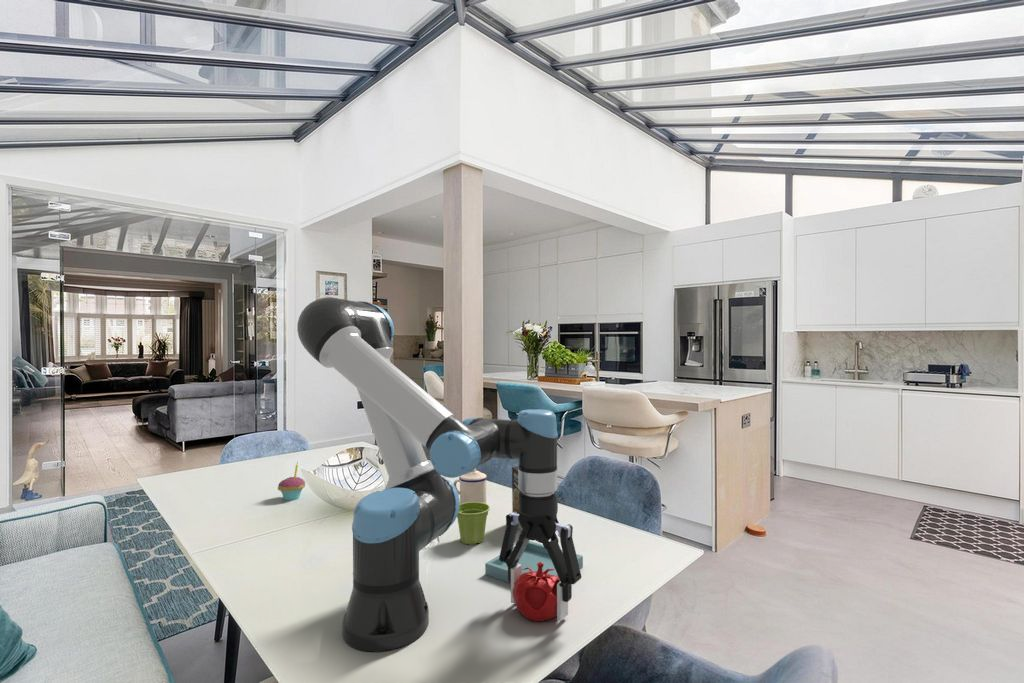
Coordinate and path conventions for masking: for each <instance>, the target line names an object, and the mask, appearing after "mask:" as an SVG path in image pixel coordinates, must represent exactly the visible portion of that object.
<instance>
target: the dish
mask: <svg viewBox="0 0 1024 683" xmlns="http://www.w3.org/2000/svg"><path fill="white" fill-rule="evenodd" d="M514 547H515V545H513V549H514ZM512 551H513V550H512ZM561 551H562V549H561ZM562 553H563V551H562ZM576 555H577V560H578V564H579V568H580V570H581V569H582V568H583V567H584V556H583V555H581V554H577V553H576ZM499 556H500V554H499V555H497V556H495V557H494V558H492V559H490V560H488V561H487V562H485V565H484V566H485V568H484V569H485V572H484V574H485V575H486V576H487V577H491V578H494V579H497V580H500V581H503V582H505V583H509V581H508V567H507V564H506V563H505V562H501V561H500V560H499ZM519 561H520V562H518V563H517V565H518V564H521V565H522V569H525V568H528V567H529V568H530V569H531V570H532V571H534V572H537V570H538V566H537V563H539V562H542V563H544V565H543V568H542V571H543V572H544V571H546V570H547V569H554V568H555V567H554V565H553V563H552V560H551V558H550V556H549V553H548V551H547V549H545V548H544V546H543V544H542V543H539V542H534V541H532V540H529V542H528V544H527V546H526V548H525V550H524V552H523V554H522V556H521V558H520V559H519ZM526 572H530V571H529V569H526V570H522V574H523V573H526ZM547 574H550V575H555V576H557V577H558V574H557V572H556V570H555V569H554V570H552V571H548V573H547ZM558 578H559V577H558ZM509 584H510V583H509Z"/></svg>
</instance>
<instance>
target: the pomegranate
mask: <svg viewBox="0 0 1024 683" xmlns="http://www.w3.org/2000/svg"><path fill="white" fill-rule="evenodd" d="M543 565H544V563H542V562H539V563H537V566H538V570H537V572H534V571H532V570H531V569H530V568H529V567H528V568H525V569H521V570H526V569H529V571H530V572H526V573H523V574H522V575H521V576H520V578H519V579H518V580H517V581H516V583H515V586H514V588H513V598H514V601H515V603H514V604H515V607H516V608H517V610H518V612H519V613H521V614H522V616H524V617H525V618H527V619H528V620H530V621H534V622H544V621H546V620H551V619H554V618H556V617H557V584H558V583H559V582H560V579H559V578H558V577H557V576H555V575H550V574H547V573H548V571H552V570H554V569H555V568H554V569H547V570H546V571H544V572H543V571H542V568H543Z"/></svg>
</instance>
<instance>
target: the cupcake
mask: <svg viewBox="0 0 1024 683" xmlns="http://www.w3.org/2000/svg"><path fill="white" fill-rule="evenodd" d="M298 463H299V461H297V462H296V464H295V470H294V475H293V476H289V477H287V478H285V479H283V480H281V481H280V482H279V483H278V485H277V491H280V493H281V494H282V497H283V500H284V501H295V500H298V499H300V498H301V494H302V491H303V489H304V488H305V487H306V481H305V480H304V478H302V477H299V476H297V474H298V467H299V464H298Z"/></svg>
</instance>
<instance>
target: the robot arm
mask: <svg viewBox="0 0 1024 683" xmlns="http://www.w3.org/2000/svg"><path fill="white" fill-rule="evenodd" d="M296 332H297V335H298V338H299V340H300V343H301V345H302V347H303V348H304V349H305V350H306V352H307V353H308V354H309V355H310V356H311V357H312V358H313V359H315V361H317V362H318V363H319V364H320V365H322V366H323V367H324V368H326V369H329V368H331V369H332V368H333V369H334V370H336V371H337V372H338V373H339V374H341V376H343V377H344V378H345V379H346V380H348V382H350V383H351V385H353V386H354V387H355V388H356V390H357V392H358V395H359V398H360V401H361V404H362V406H363V409H364V412H365V414H366V417H367V420H368V422H369V425H370V428H371V431H372V434H373V436H374V440H375V442H376V445H377V448H378V451H379V453H380V456H381V458H382V461H383V465H384V467H385V469H386V472H387V475H388V480H387V482H386V485H385V487H384V489H383V490H376V491H374V492H371V493H368V494H366V495H365V496H363V498H361V499H360V500H359V501H358V502H357V504H356V505H355V507H354V511H353V519H352V520H353V521H352V523H351V530H352V575H353V576H352V578H353V580H352V584H353V585H352V591H351V593H350V597H349V601H348V604H347V608H346V611H345V613H344V615H343V619H342V638H343V640H344V642H345V643H346V644H348V645H349V646H350V647H352V648H354V649H357V650H360V651H366V652H383V651H385V652H386V651H391V650H395V649H398V648H401V647H404V646H406V645H409V644H411V643H412V642H414V641H416V640H417V639H419V638H420V637H421V636H422V635H423V634H424V633H425V631H426V630H427V628H428V626H429V624H430V622H429V621H430V619H429V617H430V616H429V614H430V613H429V612H430V610H429V605H428V602H427V601H426V600H427V599H426V597H425V593H424V590H423V587H422V585H421V584H422V583H421V581H420V551H422V550H423V549H424V548H426V547H427V546H428V545H429V544H430V543H432V542H433V541H434V540H436V539H437V538H439V537H440V536H443V535H444V534H445V533H447V531H448V530H449V528H451V526H452V525H453V523H455V521H456V519H457V515H458V512H459V506H460V495H459V494H458V492H457V490H456V488H455V486H454V485H453V483H454V482H452V481H451V480H449V479H447V478H450V479H454V478H459V477H460V476H462V475H465V474H468V473H470V472H472V471H473V470H474V469H475V468H476V469H477V468H478V467H479V466H481V465H483V464H485V463H486V462H488V461H490V460H492V459H495V458H496V459H509V460H510V459H511V460H514V459H515V460H517V462H518V465H517V466H518V489H519V490H520V492H519V511H520V514H517V512H510V513H509V514H506V516H505V523H506V526H505V531H504V535H503V541H502V544H501V548H500V552H499V555H500V556H499V555H498V556H499V560H500V561H501V562H505V563H506V564H507V567H508V581H509V584H510V603H511V604H515V601H514V598H513V588H514V586H515V583H516V581H517V580H518V579H519V578H520V576H521V575H522V570H521V569H522V565H521V564H518V565H517V563H518V562H520V561H519V559H520V558H521V556H522V554H523V552H524V550H525V548H526V546H527V544H528V542H529V541H536V542H537V543H538V544H542V545H543V546H544V548H545V549H547V551H548V553H549V556H550V558H551V560H552V563H553V565H554V567H555V570H556V572H557V574H558V577H559V579H560V582H559V583H558V584H557V616H556V620H557V621H559V622H562V621H563V620H564V619H565V618H566V617H567V616H568V615H569V601H570V600H571V599H572V596H573V595H572V591H573V590H572V589H573V588H572V587H573V586H572V585H575V584H576V583H577V582H578V581H580V580H581V579H582V574H581V569H580V568H579V564H578V560H577V555H576V554H577V552H576V548H575V542H574V540H573V529H574V528H573V525H572V524H570V523H569V524H567V525H565V524H562V523H559V520H558V517H557V514H558V511H559V510H558V509H559V506H558V504H559V503H558V502H559V500H558V499H559V498H558V492H556V491H557V490H558V437H559V436H558V435H559V433H558V430H557V428H558V425H557V416H556V414H555V413H554V412H553V411H552V410H550V409H539V408H538V409H531V408H529V409H523V410H520V411H519V412H518V414H517V418H516V419H501V418H500V419H499V418H497V419H496V418H483V417H477V418H476V417H475V418H474V417H473V418H465V419H464V420H463V421H462V420H461V419H460V418H458V417H457V416H456V415H454V413H453V412H451V411H450V410H449V409H448V408H446V407H445V406H444V405H442V403H441V402H439V401H438V400H437V399H436V398H434V397H433V396H432V395H431V394H429V393H428V392H427V391H426V390H425V389H423V388H422V387H421V386H419V384H417V383H416V382H415V381H414V380H412V379H411V378H410V377H409V376H408V375H406V374H405V373H404V372H403V371H401V370H400V369H399V368H398V367H397V366H395V365H394V364H393V363H392V362H391V357H392V355H393V352H394V347H393V345H392V343H393V340H394V339H393V336H394V335H395V326H394V322H393V320H392V318H391V316H390V315H389V313H388V312H387V311H386V310H385V309H384V308H382V307H381V306H379V305H377V304H373V303H372V302H367V301H362V300H361V301H360V300H359V301H357V300H356V301H355V300H350V299H343V298H338V297H329V296H328V297H320V298H317V299H315V300H312V302H310V303H308V304H307V305H306V306H305V307H304V308H303V310H302V311H301V312H300V314H299V317H298V321H297V331H296ZM423 447H425V448H426V450H427V451H429V460H430V461H429V460H428V458H427V455H426V452H425V450H424V448H423ZM519 523H520V525H521V527H522V529H523V530H522V531H520V534H519V536H518V540H517V541H516V536H517V532H518V529H519V528H518V524H519ZM556 531H557V532H556ZM556 533H558V535H557V534H556ZM559 540H560V545H559ZM515 541H516V543H515ZM514 546H515V547H514ZM513 547H514V549H513ZM512 550H513V551H512ZM561 550H562V551H563V553H562V551H561Z"/></svg>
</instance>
